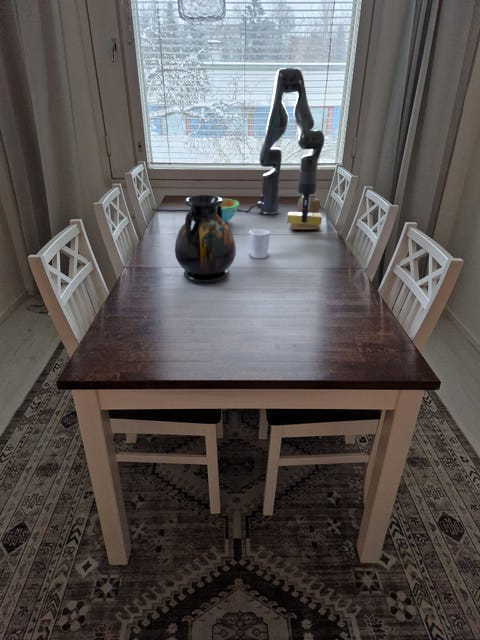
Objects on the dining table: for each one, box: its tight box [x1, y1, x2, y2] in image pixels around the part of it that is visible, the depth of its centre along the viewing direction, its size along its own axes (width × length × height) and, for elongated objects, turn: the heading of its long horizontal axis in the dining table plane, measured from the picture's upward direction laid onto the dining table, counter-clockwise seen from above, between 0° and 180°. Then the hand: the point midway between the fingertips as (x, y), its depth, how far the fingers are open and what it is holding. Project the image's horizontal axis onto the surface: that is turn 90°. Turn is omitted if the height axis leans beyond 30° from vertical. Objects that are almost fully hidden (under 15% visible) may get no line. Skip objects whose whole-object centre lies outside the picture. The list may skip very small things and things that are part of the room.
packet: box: [286, 211, 323, 226], centre depth 183 cm, size 15×6×4 cm, turn 80°
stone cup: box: [289, 197, 321, 231], centre depth 198 cm, size 15×12×15 cm
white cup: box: [249, 228, 271, 259], centre depth 166 cm, size 8×8×10 cm
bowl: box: [220, 197, 240, 224], centre depth 207 cm, size 22×22×10 cm
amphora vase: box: [174, 194, 237, 286], centre depth 143 cm, size 22×22×28 cm
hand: (304, 220), depth 184 cm, fingers closed on packet, 6 cm apart
